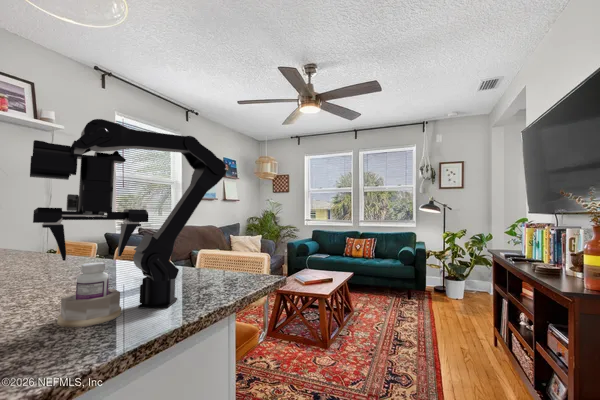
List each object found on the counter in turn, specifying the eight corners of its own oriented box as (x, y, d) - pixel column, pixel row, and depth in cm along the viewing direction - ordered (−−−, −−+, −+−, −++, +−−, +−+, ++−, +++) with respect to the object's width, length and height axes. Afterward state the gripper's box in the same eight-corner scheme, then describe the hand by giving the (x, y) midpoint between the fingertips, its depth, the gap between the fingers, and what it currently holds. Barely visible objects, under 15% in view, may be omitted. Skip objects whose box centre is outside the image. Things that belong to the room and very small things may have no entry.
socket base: (130, 308, 64) (131, 287, 64) (102, 326, 53) (103, 302, 54) (81, 309, 63) (82, 288, 63) (42, 327, 53) (43, 302, 53)
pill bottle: (86, 308, 61) (88, 261, 61) (112, 307, 61) (114, 261, 62) (68, 317, 55) (70, 266, 56) (97, 316, 56) (99, 266, 56)
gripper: (137, 187, 72) (134, 251, 71) (35, 181, 59) (31, 257, 58) (150, 184, 64) (147, 256, 63) (35, 176, 51) (30, 265, 50)
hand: (93, 258), depth 59 cm, fingers open, 9 cm apart
